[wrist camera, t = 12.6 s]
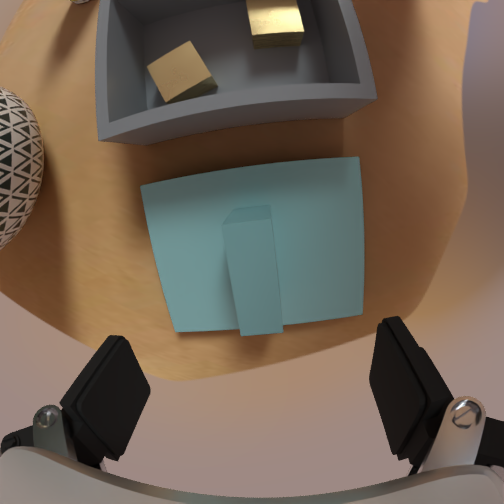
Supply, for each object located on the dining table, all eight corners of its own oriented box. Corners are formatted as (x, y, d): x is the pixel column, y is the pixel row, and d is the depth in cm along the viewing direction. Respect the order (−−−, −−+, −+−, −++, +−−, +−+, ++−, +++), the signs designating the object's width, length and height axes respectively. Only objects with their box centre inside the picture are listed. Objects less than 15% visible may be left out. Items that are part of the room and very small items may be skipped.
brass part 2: (292, 12, 17) (294, -4, 14) (300, 45, 18) (304, 31, 15) (248, 15, 17) (245, -1, 15) (253, 49, 19) (252, 35, 16)
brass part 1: (198, 53, 19) (189, 40, 16) (218, 86, 20) (211, 75, 17) (159, 76, 20) (146, 66, 17) (177, 109, 21) (165, 102, 18)
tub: (316, -4, 17) (330, -50, 9) (344, 118, 21) (377, 99, 13) (138, 25, 18) (101, -8, 11) (145, 145, 23) (98, 141, 15)
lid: (351, 157, 22) (389, 155, 15) (356, 303, 27) (383, 351, 19) (150, 183, 24) (103, 194, 16) (181, 320, 28) (156, 370, 21)
